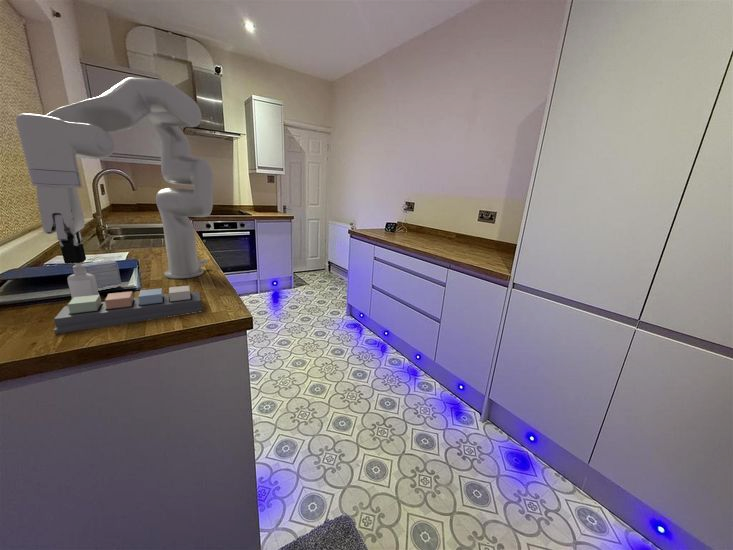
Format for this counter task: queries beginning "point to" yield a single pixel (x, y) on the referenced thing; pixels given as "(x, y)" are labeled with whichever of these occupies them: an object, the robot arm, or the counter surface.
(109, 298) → the key
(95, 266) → the medicine box
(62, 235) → the robot arm
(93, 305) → the key
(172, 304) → the keypad housing
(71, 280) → the eye dropper bottle
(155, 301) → the key
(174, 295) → the key
